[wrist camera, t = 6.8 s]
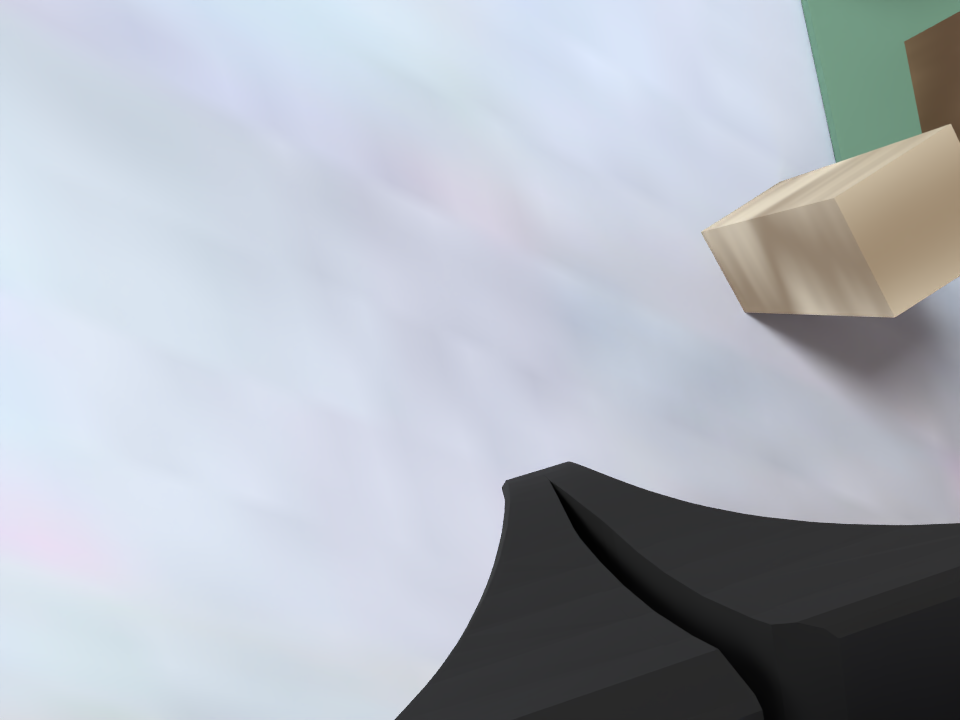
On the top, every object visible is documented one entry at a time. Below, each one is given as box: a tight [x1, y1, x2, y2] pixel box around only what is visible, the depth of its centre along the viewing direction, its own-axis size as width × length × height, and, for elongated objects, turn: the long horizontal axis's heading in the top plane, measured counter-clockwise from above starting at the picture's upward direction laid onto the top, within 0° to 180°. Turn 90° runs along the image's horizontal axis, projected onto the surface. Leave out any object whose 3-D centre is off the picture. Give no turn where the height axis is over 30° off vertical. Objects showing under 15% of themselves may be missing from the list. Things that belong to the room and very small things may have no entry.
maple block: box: [701, 124, 960, 318], centre depth 18 cm, size 4×4×7 cm
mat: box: [801, 0, 960, 163], centre depth 21 cm, size 9×10×1 cm
